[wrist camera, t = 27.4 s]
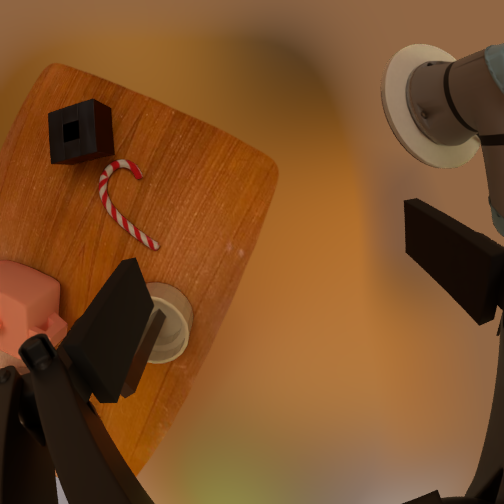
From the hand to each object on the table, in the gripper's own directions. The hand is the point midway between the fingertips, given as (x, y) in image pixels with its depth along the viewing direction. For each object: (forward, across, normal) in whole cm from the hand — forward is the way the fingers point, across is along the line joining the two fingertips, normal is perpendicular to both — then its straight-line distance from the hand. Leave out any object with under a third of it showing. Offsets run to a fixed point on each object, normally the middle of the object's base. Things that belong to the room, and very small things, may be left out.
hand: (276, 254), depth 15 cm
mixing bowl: (+29, -20, -19) cm, 40 cm away
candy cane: (+32, -18, -2) cm, 37 cm away
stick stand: (+34, -23, +11) cm, 42 cm away
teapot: (+29, -43, -11) cm, 53 cm away
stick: (+28, -20, -19) cm, 39 cm away
